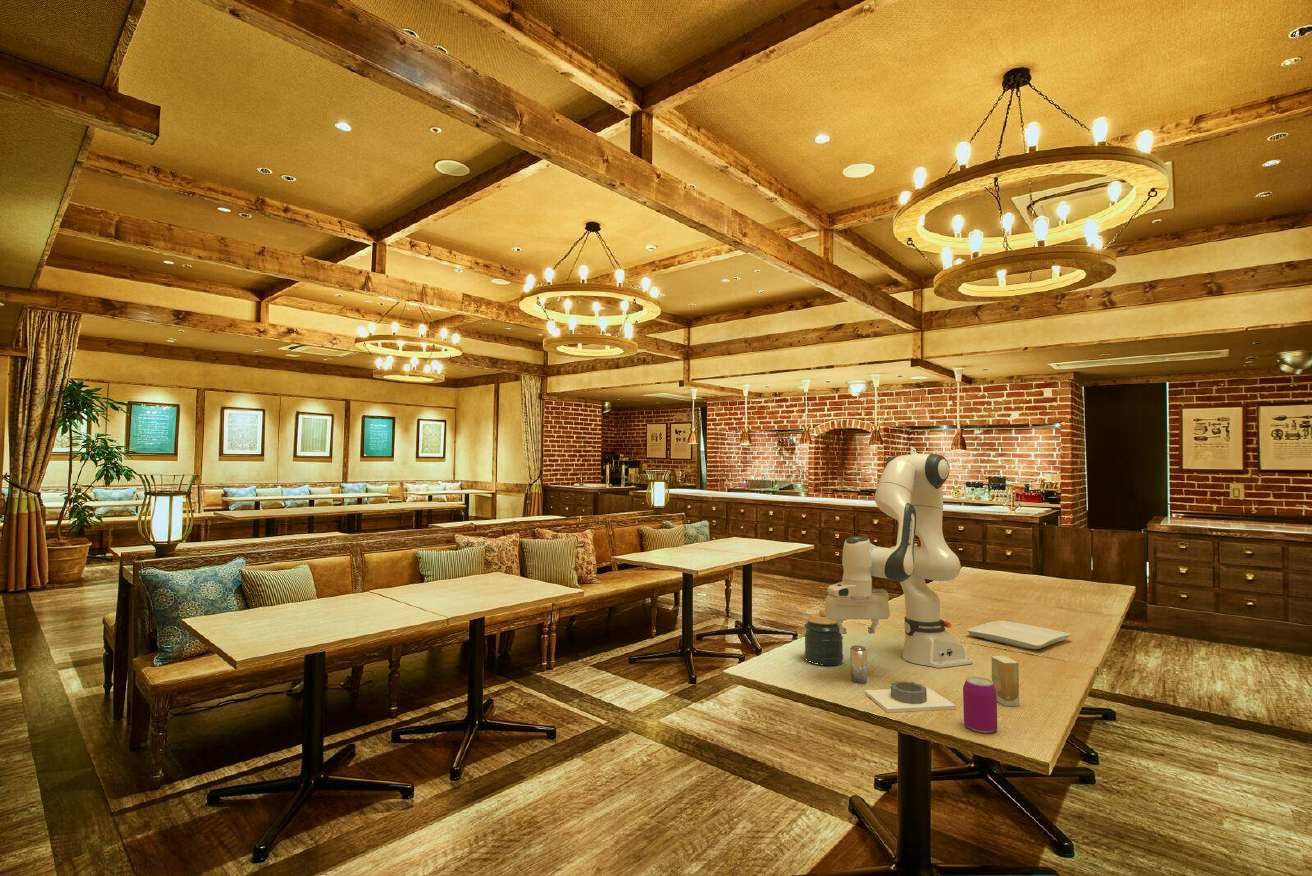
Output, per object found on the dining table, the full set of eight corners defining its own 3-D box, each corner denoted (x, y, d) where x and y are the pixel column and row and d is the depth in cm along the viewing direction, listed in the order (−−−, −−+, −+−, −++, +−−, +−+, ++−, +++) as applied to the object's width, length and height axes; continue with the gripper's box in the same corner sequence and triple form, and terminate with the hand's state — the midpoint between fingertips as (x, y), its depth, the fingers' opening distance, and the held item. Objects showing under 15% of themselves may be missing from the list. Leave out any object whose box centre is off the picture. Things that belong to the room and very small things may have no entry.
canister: (800, 663, 208) (799, 611, 209) (809, 653, 220) (808, 603, 220) (839, 669, 202) (838, 615, 203) (846, 658, 213) (845, 607, 214)
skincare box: (991, 698, 176) (989, 655, 177) (1005, 697, 177) (1004, 655, 177) (1005, 707, 170) (1004, 662, 170) (1020, 706, 170) (1019, 662, 171)
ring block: (927, 690, 182) (927, 677, 182) (956, 709, 168) (955, 694, 169) (864, 693, 180) (864, 680, 180) (887, 712, 166) (887, 697, 166)
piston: (862, 678, 193) (862, 644, 193) (869, 684, 188) (869, 649, 189) (848, 679, 192) (847, 645, 193) (855, 684, 188) (854, 649, 188)
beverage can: (993, 737, 151) (992, 688, 151) (960, 728, 156) (958, 681, 157) (1001, 727, 157) (999, 680, 157) (968, 719, 162) (967, 673, 162)
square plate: (1072, 642, 233) (1072, 632, 233) (1039, 655, 217) (1039, 644, 218) (1000, 627, 255) (999, 618, 255) (964, 638, 240) (964, 628, 240)
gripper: (883, 586, 196) (883, 630, 195) (822, 587, 194) (822, 631, 193) (893, 590, 190) (893, 635, 189) (830, 590, 187) (830, 636, 186)
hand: (857, 633), depth 191 cm, fingers open, 8 cm apart
